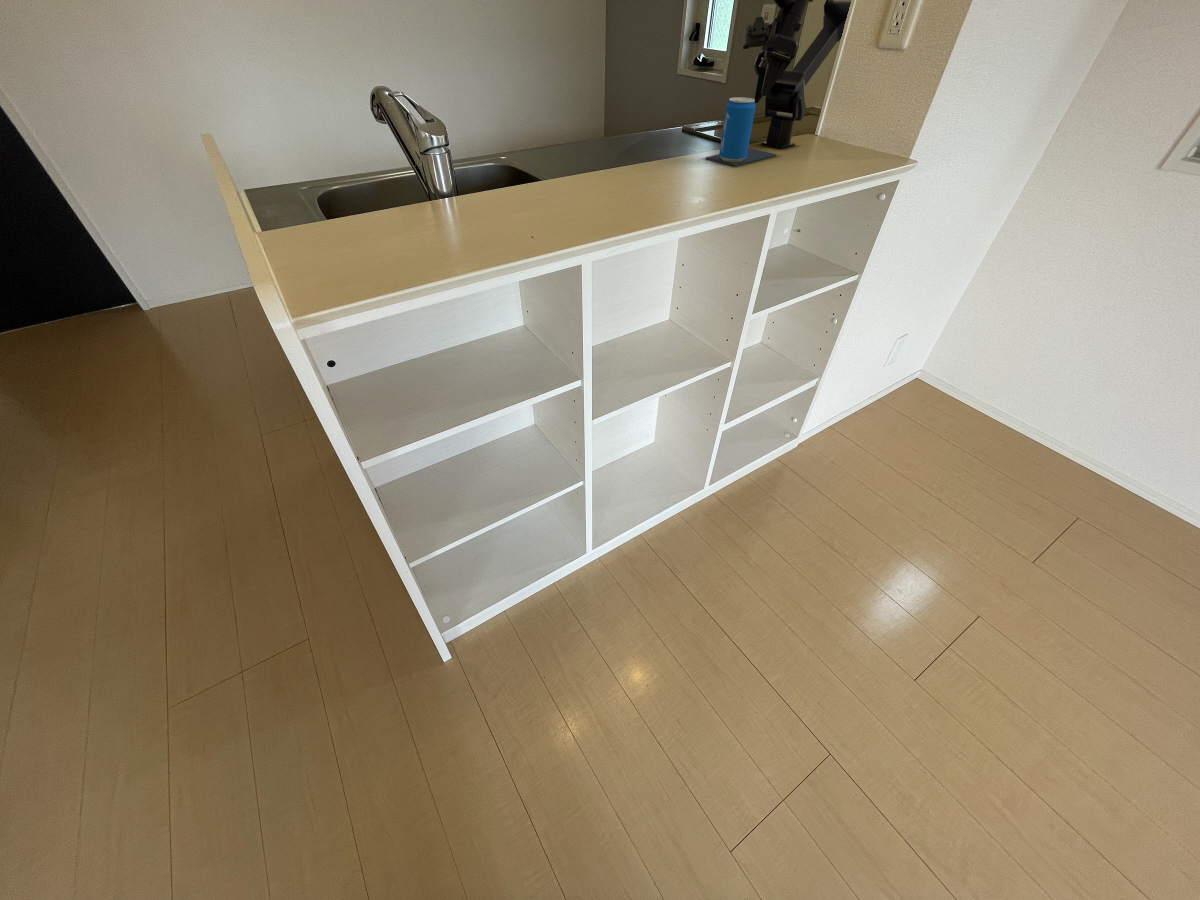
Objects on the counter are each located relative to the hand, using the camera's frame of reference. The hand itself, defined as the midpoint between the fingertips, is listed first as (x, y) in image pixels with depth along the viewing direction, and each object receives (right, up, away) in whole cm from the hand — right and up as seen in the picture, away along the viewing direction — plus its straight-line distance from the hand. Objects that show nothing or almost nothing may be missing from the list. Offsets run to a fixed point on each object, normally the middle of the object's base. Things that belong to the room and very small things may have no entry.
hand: (759, 99), depth 119 cm
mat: (-3, -11, +5) cm, 12 cm away
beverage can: (-6, -14, +2) cm, 15 cm away
